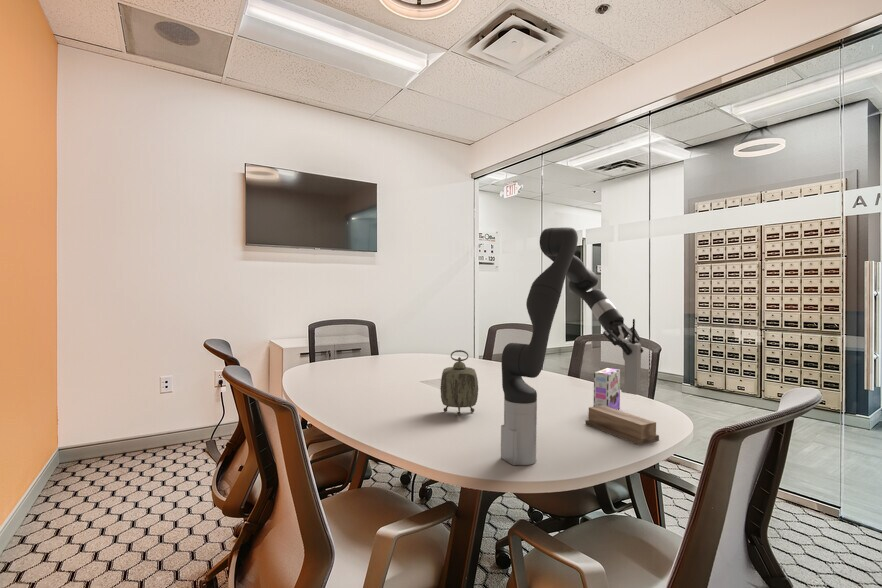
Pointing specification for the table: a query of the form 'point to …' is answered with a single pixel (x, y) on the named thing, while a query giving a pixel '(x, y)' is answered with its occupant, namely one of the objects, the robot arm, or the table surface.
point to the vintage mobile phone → (632, 367)
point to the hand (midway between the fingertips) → (635, 353)
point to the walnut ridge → (622, 424)
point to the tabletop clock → (459, 385)
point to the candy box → (607, 388)
